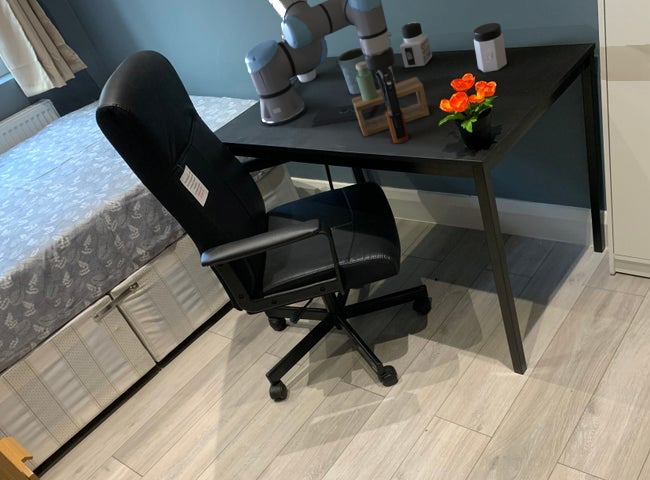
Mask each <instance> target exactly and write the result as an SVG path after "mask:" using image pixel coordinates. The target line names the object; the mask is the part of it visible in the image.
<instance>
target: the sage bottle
mask: <svg viewBox="0 0 650 480" xmlns="http://www.w3.org/2000/svg"><path fill="white" fill-rule="evenodd" d="M356 69H357V70H358V73H359V74H357V76H356V78H357V81H358V85H359V88H360V92H361V95H362V99H363V100H364V101H370V100H373V99H375V98H376V97H377V92H376V90H377V89H376V85H375V80H374V77H373V73H371V72H372V71H367V65H366V62H359V63H357V64H356ZM361 95H360V96H361Z"/></svg>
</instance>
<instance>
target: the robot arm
mask: <svg viewBox="0 0 650 480" xmlns="http://www.w3.org/2000/svg"><path fill="white" fill-rule="evenodd" d="M267 1H268V2H269V3H270V5H271V6H272V7H273V9H275V11H276V13H277V14H278V15H279V16H280V18H281V19H282V21H281V32H280V33H281V34H280V35H281V38H282V39H281V41H278V42H277V41H276V40H275V39H269V40H266V41H262V42H261V43H259V44H257V45H255V46H254V47H253V48H251V49H250V50H249V51H248V52H247V54H246V55H245V58H244V60H245V64H246V68H247V72H248V74H249V76H250V78H251V80H252V83H253V85H254V89H255V90H256V93H257V95H258V98H259V103H260V116H261V120H262V123H263V125H266V126H270V127H271V126H280V125H283V124H287V123H289V122H291V121H294V120H296V119H297V118H299V117H300V116H302V115H303V114H304V113H305V112H306V105H305V103H304V100H303V99H302V98H301V97H300V95H299V94H298V93H297V92H296V90H295V89H294V86H295V85H296V84H297V82H298V80H299V78H298V77H297V75H299V74H302V73H304V72H306V71H308V70H310V69H312V68H315V69H316V68H317V67H319V66H320V65H322V64H324V63H325V62H326V61H327V58H328V53H329V52H328V50H329V49H328V44H327V43H328V42H327V40H326V39H325V37H327V36H328V35H331V34H333V33H336V32H338V31H340V30H343V29H345V28H347V27H349V26H354V27H355V28H356V31H357V37H358V40H359V43H360V48H362V51H363V54H365V56H364V58H365V61H366V65H367V68H368V69H369V70H370V71H371V72H375V77H376V79H377V82H378V86H379V89H381V92H382V96H383V100H384V103H383V104H384V105H385V108H386V110H388V108H387V106H386V104H385V99H387V102H388V106H389V109H390V113H391V116H389V119H390V118H391V119H392V123H393V127H394V131H395V135H396V138H397V139H400V138H403V137H406V133H405V129H404V125H403V121H402V117H401V115H402V112H401V109H400V107H401V106H400V102H399V98H398V97H397V93H396V89H395V84H396V81H395V82H394V80H395V79H394V80H393V76H394V73H393V74H392V72H393V71H392V72H391V71H390V69H388V68H389V67H390V66H391V67H392V66H393V65H394V64H395V63H396V57H395V53H394V48H393V47H391V46H392V41H391V38H390V37H391V36H392V32H391V31H389V30H388V24H387V21H386V16H385V11H384V7H383V3H382V0H325V1H323V2H321V3H318V4H316V5H313V6H310V4H309V3H308V0H267ZM291 79H294V80H293V82H291ZM394 83H395V84H394Z"/></svg>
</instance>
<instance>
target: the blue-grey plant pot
mask: <svg viewBox="0 0 650 480" xmlns="http://www.w3.org/2000/svg"><path fill="white" fill-rule="evenodd" d="M364 56H365V54H363V51H362V48H361V47H359V48H358V47H356V48H353V49H350V50H347V51H345V52H343V53H341V54H340V55H339V56H338V57H337V62H338V64H339V66H340V68H341V71H342V75H343V77H344V79H345V82H346V85H347V87H348V90H349V93H350V94H352V95H360V94H361V92H360V88H359V85H358V81H357V78H356V76H357V74H359V73H358V70H357V69H356V64H357V63H359V62H366V61H365V58H364ZM367 71H370V70H369V69H368V68H367ZM372 72H373V71H371V73H372ZM372 74H373V73H372Z"/></svg>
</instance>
